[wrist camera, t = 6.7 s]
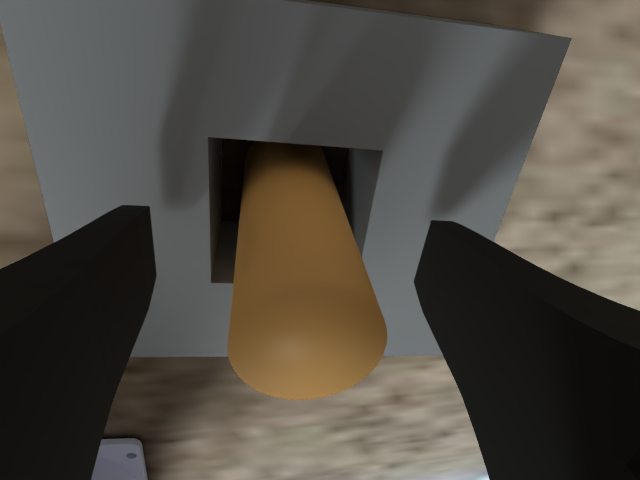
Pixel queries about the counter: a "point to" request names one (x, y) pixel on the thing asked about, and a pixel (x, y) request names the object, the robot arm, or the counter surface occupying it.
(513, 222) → the counter surface
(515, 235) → the counter surface
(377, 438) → the counter surface
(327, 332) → the peg
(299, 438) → the counter surface
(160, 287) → the socket block
